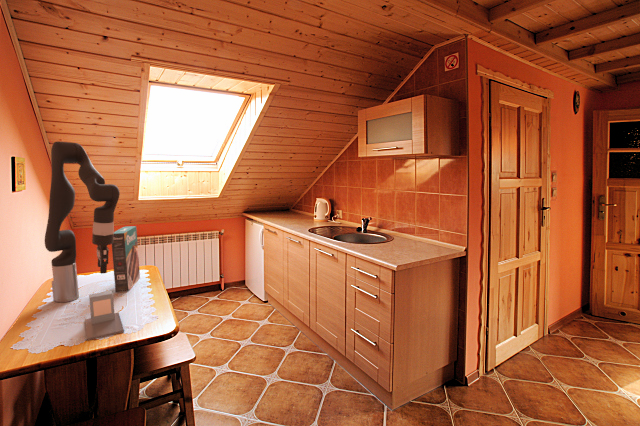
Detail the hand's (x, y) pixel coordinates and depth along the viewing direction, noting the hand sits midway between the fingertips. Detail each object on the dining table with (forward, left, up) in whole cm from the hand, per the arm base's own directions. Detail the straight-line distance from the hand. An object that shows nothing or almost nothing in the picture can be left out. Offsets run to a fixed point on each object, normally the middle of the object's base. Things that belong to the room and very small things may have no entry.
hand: (102, 269), depth 148 cm
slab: (+4, -6, -19) cm, 20 cm away
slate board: (+7, -10, -20) cm, 23 cm away
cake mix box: (-15, +38, -20) cm, 46 cm away
